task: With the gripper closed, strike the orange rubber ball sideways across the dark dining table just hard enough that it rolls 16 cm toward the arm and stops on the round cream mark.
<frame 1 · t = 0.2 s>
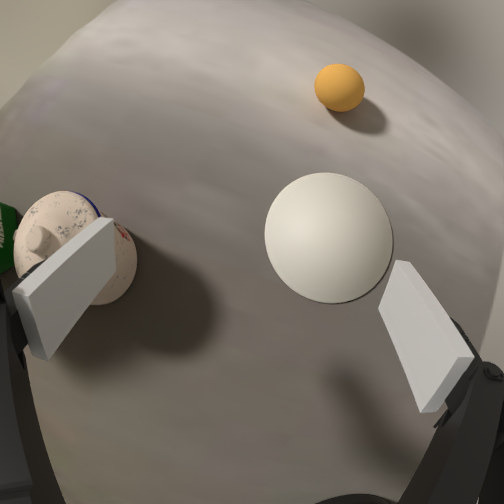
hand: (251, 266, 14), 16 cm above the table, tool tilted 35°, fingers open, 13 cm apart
ball: (339, 87, 31), on the table
teacup with lid: (89, 259, 30), on the table
milk carton: (0, 245, 31), on the table
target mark: (331, 235, 31), on the table
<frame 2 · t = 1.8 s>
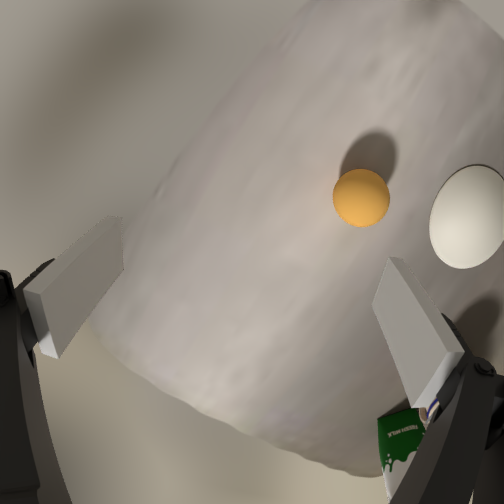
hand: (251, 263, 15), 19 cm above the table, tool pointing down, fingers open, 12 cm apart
ball: (361, 197, 29), on the table
milk carton: (396, 421, 48), on the table
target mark: (473, 219, 32), on the table
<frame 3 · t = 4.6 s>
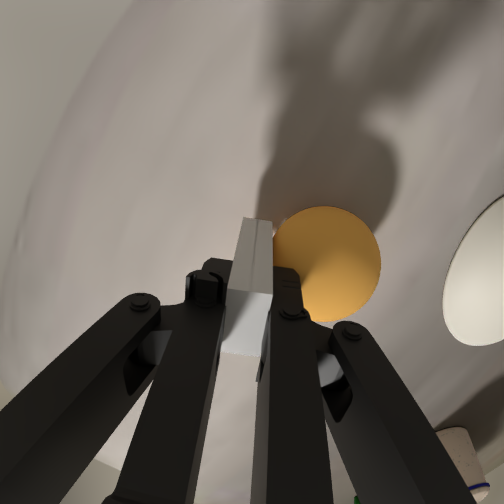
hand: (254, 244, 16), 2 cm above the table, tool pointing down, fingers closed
ball: (324, 263, 15), on the table, touching gripper
teacup with lid: (426, 451, 29), on the table
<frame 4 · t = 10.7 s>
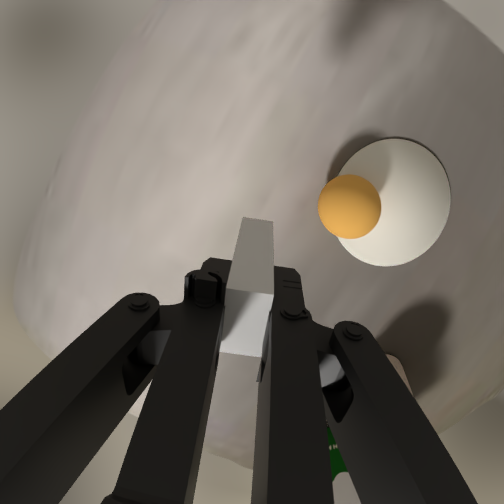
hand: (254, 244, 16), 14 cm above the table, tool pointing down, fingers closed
ball: (349, 206, 27), on the table
milk carton: (335, 435, 46), on the table
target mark: (394, 205, 29), on the table
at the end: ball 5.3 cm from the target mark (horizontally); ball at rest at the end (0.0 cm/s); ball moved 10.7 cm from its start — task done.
